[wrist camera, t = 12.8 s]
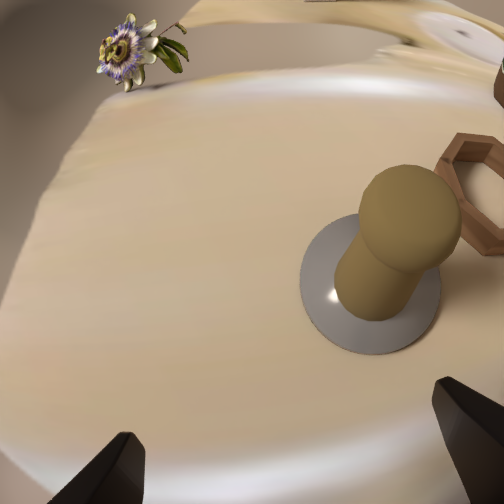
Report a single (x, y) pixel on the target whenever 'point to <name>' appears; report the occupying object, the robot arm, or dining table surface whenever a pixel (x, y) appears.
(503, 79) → the beer bottle
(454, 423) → the robot arm
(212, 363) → the dining table surface
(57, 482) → the dining table surface
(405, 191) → the cork
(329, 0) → the coffee box
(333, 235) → the slate coaster
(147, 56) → the passion flower
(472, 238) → the guard ring
